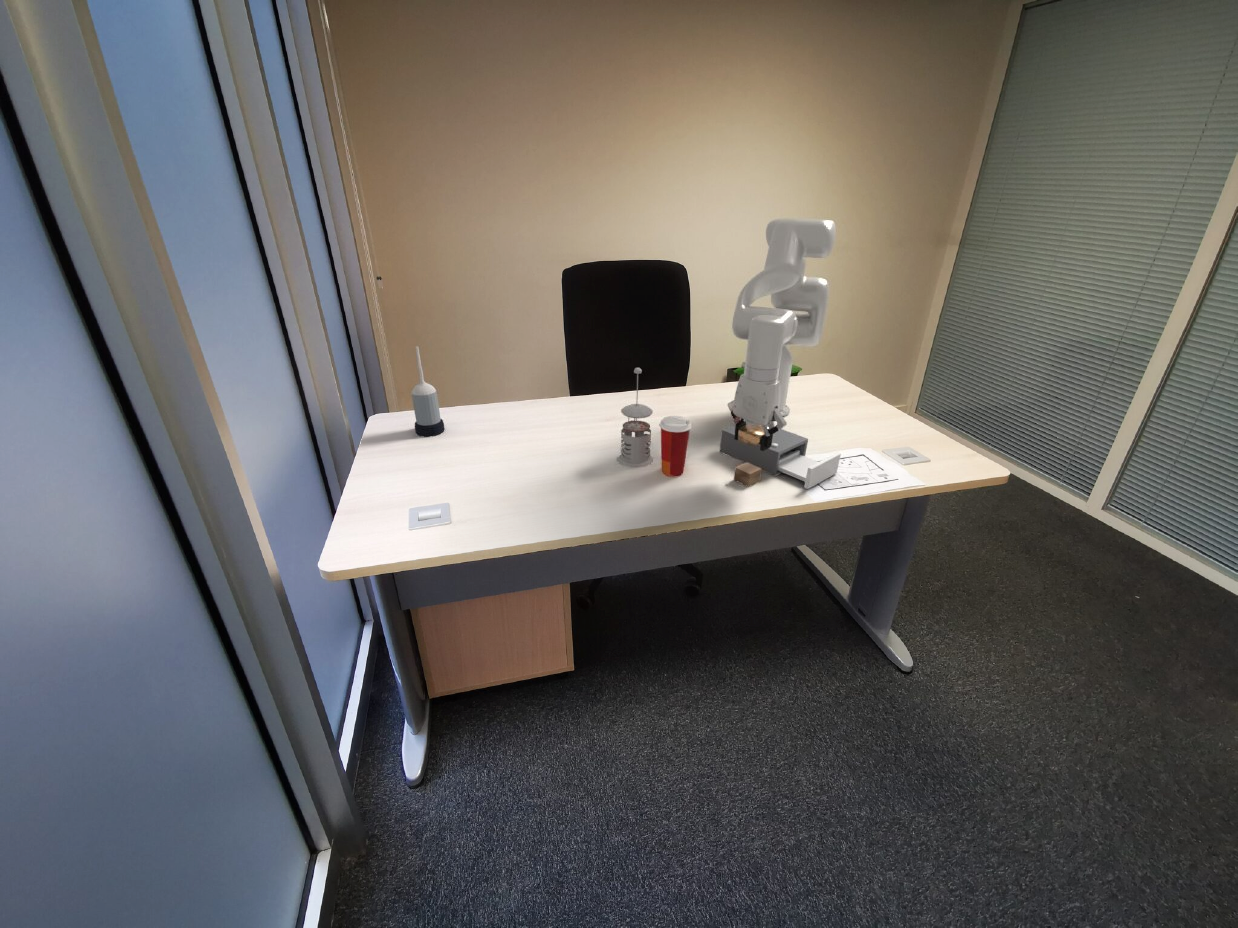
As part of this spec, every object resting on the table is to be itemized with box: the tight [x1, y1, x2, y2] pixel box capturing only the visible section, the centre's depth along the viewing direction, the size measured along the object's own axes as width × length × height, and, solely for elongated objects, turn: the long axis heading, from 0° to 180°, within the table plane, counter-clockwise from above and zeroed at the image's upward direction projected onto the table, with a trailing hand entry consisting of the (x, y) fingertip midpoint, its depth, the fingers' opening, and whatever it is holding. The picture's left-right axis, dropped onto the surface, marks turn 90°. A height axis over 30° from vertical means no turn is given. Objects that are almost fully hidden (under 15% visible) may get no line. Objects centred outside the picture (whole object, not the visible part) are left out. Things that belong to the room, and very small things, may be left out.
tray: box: [778, 450, 841, 490], centre depth 138 cm, size 18×13×5 cm
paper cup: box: [658, 415, 692, 478], centre depth 134 cm, size 8×8×14 cm
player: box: [719, 420, 809, 477], centre depth 144 cm, size 18×13×7 cm
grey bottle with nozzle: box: [411, 346, 446, 438], centre depth 153 cm, size 8×8×25 cm
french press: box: [616, 367, 655, 469], centre depth 138 cm, size 10×12×25 cm
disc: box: [738, 425, 764, 445], centre depth 128 cm, size 7×7×2 cm
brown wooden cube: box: [733, 462, 763, 488], centre depth 132 cm, size 4×4×4 cm
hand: (752, 443), depth 129 cm, fingers closed on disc, 7 cm apart
